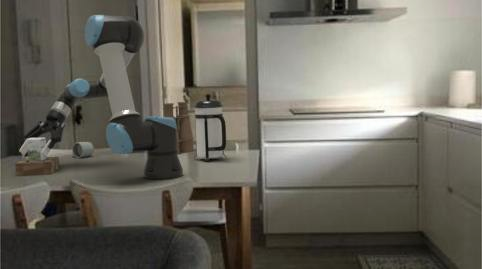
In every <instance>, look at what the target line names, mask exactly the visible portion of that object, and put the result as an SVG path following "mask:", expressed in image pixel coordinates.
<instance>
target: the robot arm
mask: <svg viewBox="0 0 482 269" xmlns="http://www.w3.org/2000/svg"><path fill="white" fill-rule="evenodd" d="M84 39H85V40H84V41H85V43H86V45H87V46H88V47H92V48H93V52H94V54H95V55H97V56H99V60H100V66H101V69H102V74H101V76H100V78H99V79H98V80H86V79H84V78H76V79H74V80H73V81H71V83H68V84H66V86H65V87H64V88H63V90H62V92H61V94H60V95H59V97H58V98H57V99H56V101H55V102H54V104H53V105H52V106H51V108H50V109H49V111H48V113H47V114H46V117H45V118H46V120H45V121H44V122H43V121H42V120H39V121H38V123H37V124H36V125H35V126H34V127H33V128H32V129H30V131H28V132H27V133H26V134H25V135H24V136H23V137H24V139H25V141H24V142H23V144H22V145H21V147H20V149H19V150H18V151H19V153H21V155H22V154H23V155H24V154H25V153H26V151H27V150H28V147H27V139H29V138H37V137H41V135H43V134H47V133H50V139H48V141H47V142H46V146H45V147H44V149H43V150H42V152H41V153H43V154H44V155H45V156H47V157H48V155H49V153H50V151H51V150H52V149H53V147H54V146H55V144H57V143H61V142H62V138H63V132H64V129H65V127H66V125H65V122H66V119H67V118H68V115H70V112H71V111H72V110H73V108H74V107H75V105H76V104H77V103H78V102H79V101H80V100H83V99H98V98H99V99H100V98H101V99H102V98H107V99H108V102H109V107H110V110H111V117H110V119H109V120H108V121H109V124H108V125H107V126H106V128H105V132H106V133H105V137H106V141H107V144H108V146H109V147H110V149H111V150H112V152H114V153H115V154H117V155H130V154H133V153H141V152H146V154H147V156H146V161H145V165H144V168H143V178H146V179H147V180H167V179H168V180H169V179H174V178H179V177H182V176H183V175H184V171H183V166H182V164H181V160H180V158H179V154H177V127H176V121H175V119H173V118H167V117H164V116H150V115H149V116H145V118H144V120H142V115H141V114H140V113H139V112H137V111H136V107H135V102H134V98H133V93H132V90H131V85H130V82H129V81H130V80H129V77H128V72H127V67H128V66H129V64H130V62H131V61H132V59H133V58H134V56H135V54H137V53H139V52H140V51H141V49H142V47H143V45H144V43H145V42H144V40H145V32H144V30H143V26H142V25H141V24H140V22H139V21H138V20H136V19H135V18H133V17H132V16H129V15H106V14H94V15H91V16H90V17H88V19H87V22H86V24H85V28H84Z"/></svg>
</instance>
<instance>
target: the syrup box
mask: <svg viewBox="0 0 482 269" xmlns="http://www.w3.org/2000/svg"><path fill="white" fill-rule="evenodd" d="M46 144H47V140H46V137H42V136H39V137H37V138H29V139H27V147H28V159H29V162H40V161H46V160H47V157H48V155H47V156H45V155H44V154H43V153H41V152H42V150H43V149H44V147H45V146H46Z"/></svg>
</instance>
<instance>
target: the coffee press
mask: <svg viewBox="0 0 482 269" xmlns="http://www.w3.org/2000/svg"><path fill="white" fill-rule="evenodd" d="M223 106H224V105H223V104H222V102H221V101H220V100H219V99H213V98H211V94H210V93H206V94H205V99H200V100H197V101H195V104H194V106H193V107H194V109H195V110H194V112H195V114H194V118H195V119H194V121H195V122H194V124H195V126H194V127H195V151H196V153H195V154H196V155H195V156H194V158H193V159H194V160H195V161H197V160H198V159H204V160H205V163H210V159H218V158H221V159H222V160H223V161H225V160H227V156H226V154H225V149H226V147H227V130H226V129H227V127H226V121H225V118H224V115H223ZM223 156H224V157H223ZM196 157H197V159H196Z"/></svg>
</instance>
